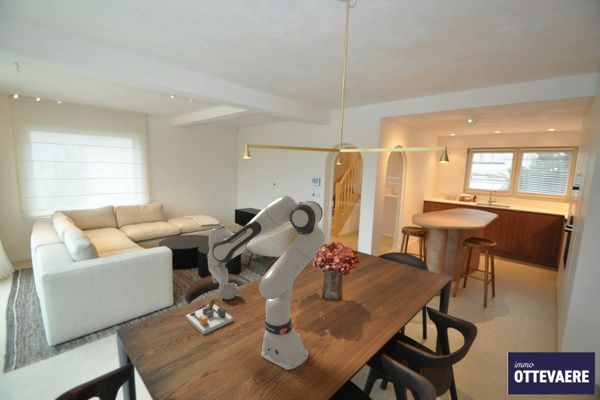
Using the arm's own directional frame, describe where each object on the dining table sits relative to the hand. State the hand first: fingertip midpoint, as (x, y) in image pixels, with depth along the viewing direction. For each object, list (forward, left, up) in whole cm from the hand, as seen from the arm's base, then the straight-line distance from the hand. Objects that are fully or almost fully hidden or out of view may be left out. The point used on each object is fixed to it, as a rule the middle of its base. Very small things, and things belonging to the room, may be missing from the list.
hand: (217, 286), depth 131 cm
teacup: (+27, -24, -25) cm, 44 cm away
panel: (+14, -2, -25) cm, 29 cm away
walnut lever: (+15, -2, -21) cm, 26 cm away
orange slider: (+9, +3, -22) cm, 25 cm away
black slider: (+9, -7, -22) cm, 25 cm away
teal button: (+21, -6, -22) cm, 32 cm away
